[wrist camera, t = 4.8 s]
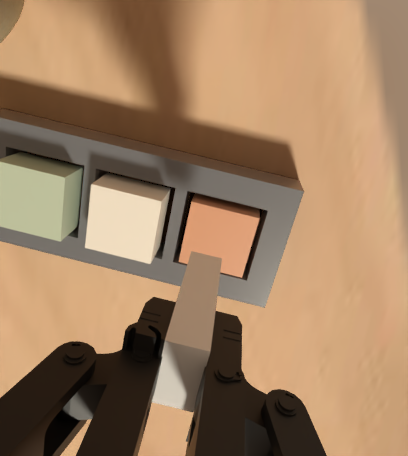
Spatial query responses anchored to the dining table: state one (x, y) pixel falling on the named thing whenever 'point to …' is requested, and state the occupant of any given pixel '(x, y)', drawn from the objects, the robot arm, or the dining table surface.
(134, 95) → the dining table surface
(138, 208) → the cream key
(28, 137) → the keyguard
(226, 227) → the peach key
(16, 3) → the flower pot
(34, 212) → the sage key
